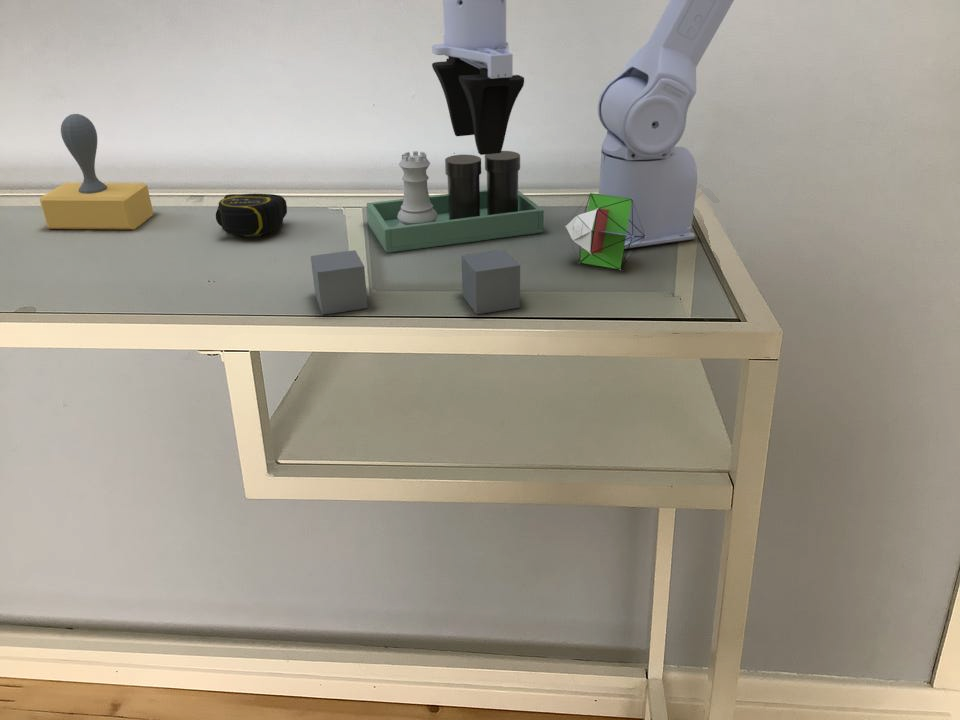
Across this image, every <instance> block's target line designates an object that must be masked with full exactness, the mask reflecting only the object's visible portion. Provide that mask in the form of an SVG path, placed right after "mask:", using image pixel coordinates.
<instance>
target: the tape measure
mask: <svg viewBox="0 0 960 720" xmlns="http://www.w3.org/2000/svg"><path fill="white" fill-rule="evenodd" d="M287 213H288V205H287V200H286V199H285V198H284V197H283V196H282V195H279V194H273V193H231V194H225V196H224V198H222V199H220V200H219V202H218V206H217V209H216V212H215V220H216V223H217V224H218V225H219V226H220V227H221V228H222V230H223V232H225V233H226V234H229V235H232V236H233V235H234V236H243V237H244V238H245V237H247V238H249V237H262V235H264V234H268V233H272V232H275V231H277V230H278V229H280V228H281V226H282V225H283V223H284V218H285V217H286V216H287Z"/></svg>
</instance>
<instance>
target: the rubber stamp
mask: <svg viewBox="0 0 960 720" xmlns="http://www.w3.org/2000/svg"><path fill="white" fill-rule="evenodd" d="M60 136H61V139H62V141H63V143H64V145H65V146H66V149H67V150H68V152H69V153H70V155H71V156H72V157H73V159H74V160H75V161H76V163H77V165H78V167H79V168H80V170H81V173H82V176H83V181H82V182H65V183H63V184H61V185H59V186H58V187H56V188H54V189H52V190H51V191H49V192H47V193H45V194H43V195H42V196H40V197H39V202H40V206H41V210H42V212H43V213H42V214H43V216H44V219H45V223H46V227H47V229H50V230H132V231H134V230H136V229H137V228H139V227H140V226H141V225H143V224H144V223H145V222H146V221H147V220H149V219H150V218H151V217H152V216H154V209H153V206H152V201H151V196H150V192H149V187H148V184H147V183H144V182H102V181H101V180H99V178H98V177H97V174H96V169H95V168H96V167H95V166H96V155H97V149H98V133H97V128H96V126H95V125H94V123H93V122H92V121H91V120H90V118H88V117H87V116H85V115H83V114H79V113H72V114H69V115H68V116H66V117H65V118H64V119H63V121H62V122H61V124H60Z"/></svg>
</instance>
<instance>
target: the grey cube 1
mask: <svg viewBox="0 0 960 720" xmlns="http://www.w3.org/2000/svg"><path fill="white" fill-rule="evenodd" d="M310 263H311V272H312V278H313V284H314V285H313V287H314V295H315V299H316V302H317V305H318V307H319V310H320V313H321V315H322V316H324V315H333V314H338V313H345V312H352V311H357V310H366V309H368V308H369V305H368V304H369V303H368V294H367V284H366V282H367V281H366V271H365V265H364V263H363V262H362V259H361V258H360V256H359V254H358V252H357V251H356V249H353V250H352V249H351V250H346V251H338V252H331V253H322V254H315V255H310Z"/></svg>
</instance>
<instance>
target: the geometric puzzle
mask: <svg viewBox="0 0 960 720" xmlns="http://www.w3.org/2000/svg"><path fill="white" fill-rule="evenodd" d="M586 199H587V202H586V206H585V209H584V212H582V213H579V214H576V215H575V214H574V215H573V216H572V218H570V220H569V221H568V222H567V224H565V225H564V228H565V229H566V232H567V234H568V236H569V238H570V241H571V242H572V243H571V244H572V246H574V244H576V245H577V246H579V248H581V250H580V257H579V258H577V259H578V260H577V261H579V262H578V264H585V265H591V266H596V267H602V268H608V269H614V270H619V271H622V268H623V266H624V265H625V264H626V263H627V261H628V260H629V259H630V257H631V255H633V253H634V252H635V251H636V249H637V248H639V247H638V246H637V247H635V249H634V250H633V252H632V253H631V254H630V255H629V257H628V259H626V256H627V254H628V252H629V249H630V248H629V247H628V248H627V249H626V252H625V254H624V250H625V249H624V247H625V246H624V244H625V240H627V239H629V238H627V239H625V238H626V236H632V237H630V238H633V237H642V238H643V239H644V237H646V236H645V235H644V234H643V233H644V232H643V233H642V232H641V231H640V230H639V229H638V228H637V227H636V226H635V225H634V224H633V207H632V222H631V221H630V220H629V215H630V209H631V203H632V201H633V198H631V199H630V198H623V197H615V196H608V195H600V194H599V193H598V194H597V193H592V192H589V195H588V196H587V197H586ZM584 202H585V201H583V202H582V204H584ZM633 204H634V203H633ZM581 206H582V205H580V207H579V208H581ZM587 207H588V208H587ZM635 209H636V208H635ZM578 210H579V209H577V210H576V212H578ZM636 212H637V211H636ZM637 215H638V214H637ZM638 218H639V217H638ZM628 221H630V222H631V223H632V234H630V233H629V232H627V226H628ZM639 221H640V220H639ZM640 224H641V223H640ZM633 225H634V226H635V227H636V228H637V229H638V230H639V231H640V232H641V233H642V234H643V235H644V236H638V235H633ZM641 227H642V226H641ZM642 230H643V229H642ZM626 232H627V233H629V234H626ZM642 238H640V239H642ZM640 239H638V240H640ZM643 239H642V240H643ZM638 240H636V241H638ZM631 241H632V239H631ZM636 241H634V242H636ZM634 242H632V243H634ZM573 243H574V244H573ZM632 243H631V242H630V244H632ZM640 243H641V242H640ZM640 243H639V244H640ZM630 244H628V245H629V246H630ZM626 246H627V245H626ZM573 250H574V251H576V250H575V248H573ZM575 254H576V256H577V253H575ZM623 255H624V257H623ZM625 260H626V261H625Z"/></svg>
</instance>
